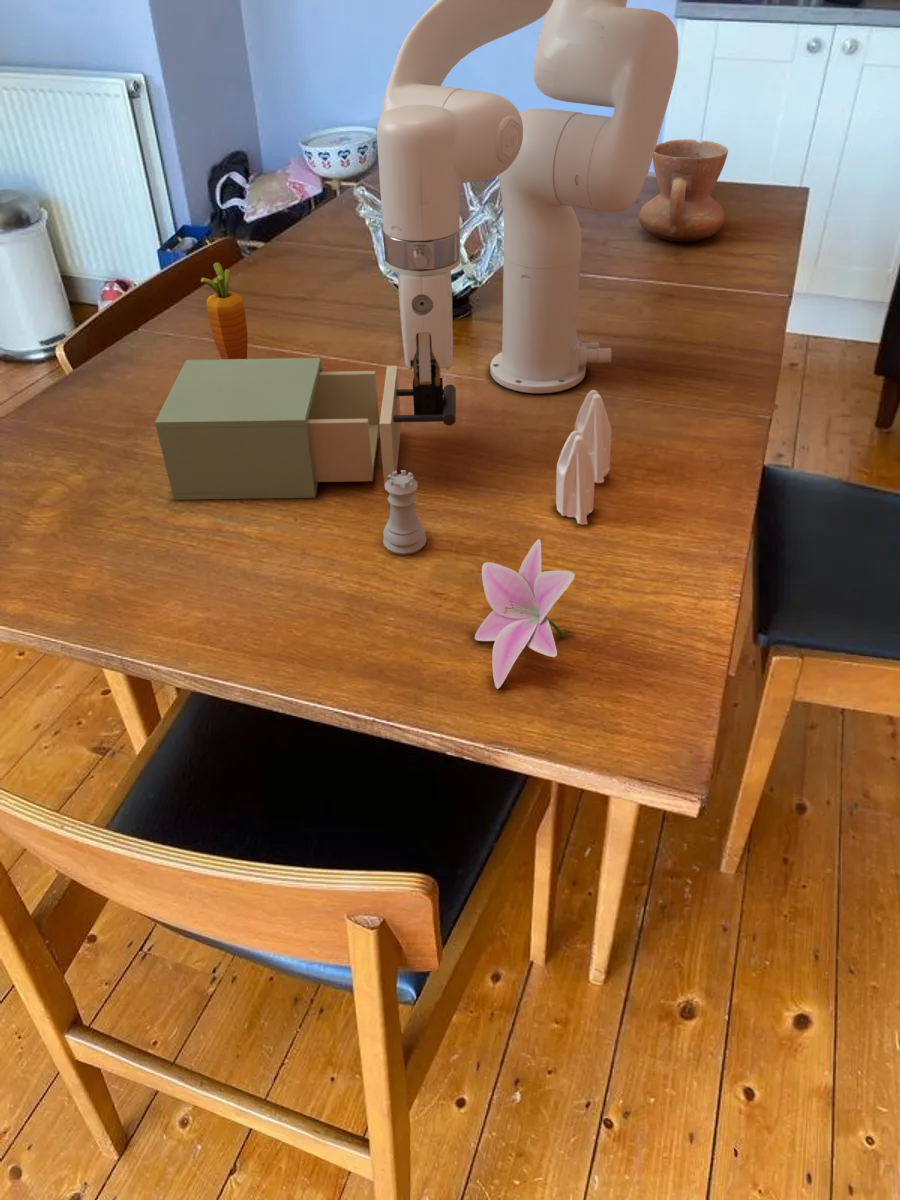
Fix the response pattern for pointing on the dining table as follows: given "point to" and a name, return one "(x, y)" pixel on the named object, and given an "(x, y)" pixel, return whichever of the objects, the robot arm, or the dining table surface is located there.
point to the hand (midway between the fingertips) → (428, 413)
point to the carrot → (227, 317)
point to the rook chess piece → (403, 516)
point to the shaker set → (584, 460)
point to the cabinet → (240, 429)
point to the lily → (520, 610)
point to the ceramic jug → (685, 191)
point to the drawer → (361, 424)
